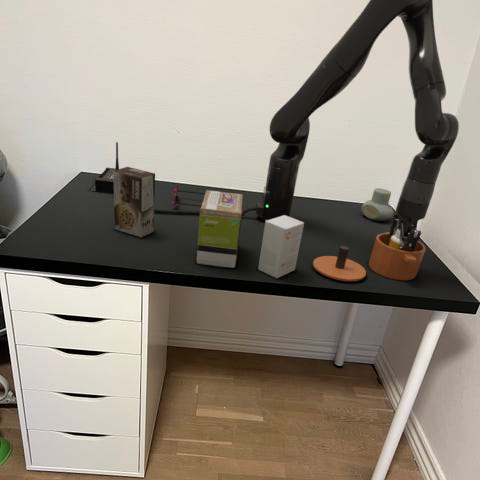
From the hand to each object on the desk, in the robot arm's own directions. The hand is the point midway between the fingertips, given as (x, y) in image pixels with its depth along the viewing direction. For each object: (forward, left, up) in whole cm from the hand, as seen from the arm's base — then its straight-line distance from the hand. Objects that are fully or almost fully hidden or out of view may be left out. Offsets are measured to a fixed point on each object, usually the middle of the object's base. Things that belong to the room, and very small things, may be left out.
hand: (395, 257), depth 129 cm
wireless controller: (-83, +45, -4) cm, 94 cm away
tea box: (-48, -2, -4) cm, 49 cm away
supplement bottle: (0, 0, -3) cm, 3 cm away
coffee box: (-71, +9, -4) cm, 72 cm away
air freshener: (+9, +43, -4) cm, 44 cm away
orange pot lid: (-16, -5, -3) cm, 17 cm away
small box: (-33, -8, -4) cm, 35 cm away
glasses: (-54, +35, -4) cm, 65 cm away
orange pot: (0, 0, -4) cm, 4 cm away
